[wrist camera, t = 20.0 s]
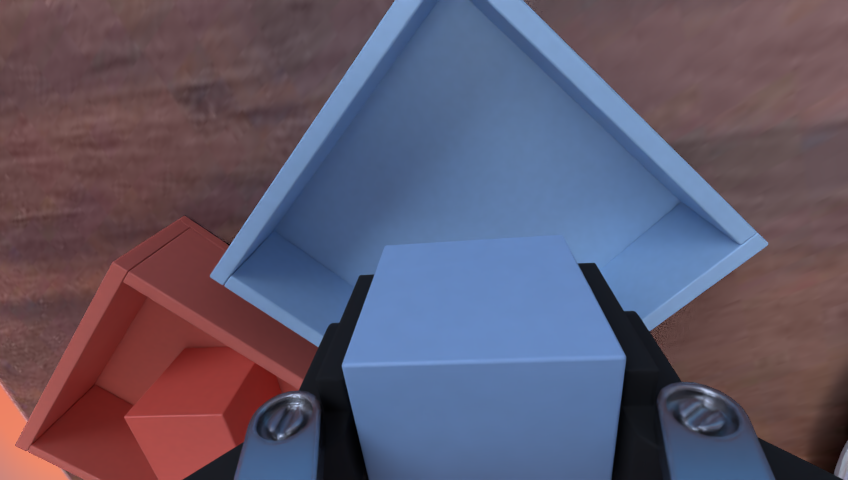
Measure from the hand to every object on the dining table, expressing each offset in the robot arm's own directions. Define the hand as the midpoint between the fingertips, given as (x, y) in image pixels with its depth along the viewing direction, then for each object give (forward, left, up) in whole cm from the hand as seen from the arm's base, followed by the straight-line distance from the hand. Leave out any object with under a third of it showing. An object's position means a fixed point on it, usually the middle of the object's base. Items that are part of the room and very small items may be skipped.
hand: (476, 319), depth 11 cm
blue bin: (0, 0, -8) cm, 8 cm away
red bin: (-3, -15, -8) cm, 17 cm away
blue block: (0, 0, 0) cm, 0 cm away
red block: (-3, -15, -7) cm, 17 cm away
